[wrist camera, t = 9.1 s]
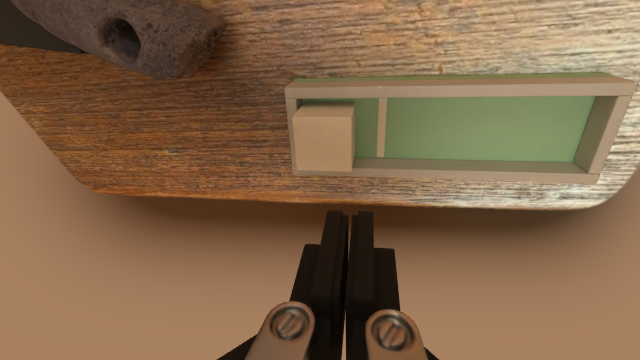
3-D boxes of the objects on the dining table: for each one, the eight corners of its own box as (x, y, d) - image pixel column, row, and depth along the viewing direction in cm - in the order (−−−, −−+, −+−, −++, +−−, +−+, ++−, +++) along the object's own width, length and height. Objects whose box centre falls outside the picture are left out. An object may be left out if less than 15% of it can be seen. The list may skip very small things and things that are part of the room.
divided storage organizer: (301, 157, 29) (292, 175, 26) (295, 78, 25) (284, 87, 22) (570, 163, 25) (596, 184, 22) (602, 72, 22) (639, 82, 19)
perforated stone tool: (58, 22, 26) (-35, 27, 20) (50, -53, 23) (-60, -74, 17) (232, 83, 26) (192, 105, 20) (243, 15, 24) (200, 19, 18)
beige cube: (307, 149, 26) (296, 170, 23) (303, 102, 25) (292, 117, 21) (355, 150, 26) (351, 171, 22) (355, 101, 24) (351, 117, 21)
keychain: (90, 55, 26) (-16, 41, 27) (96, 53, 27) (-7, 41, 28) (72, -15, 24) (-43, -27, 25) (80, -15, 25) (-33, -26, 26)
